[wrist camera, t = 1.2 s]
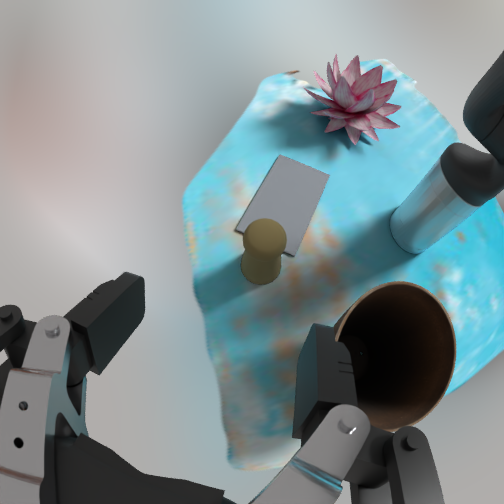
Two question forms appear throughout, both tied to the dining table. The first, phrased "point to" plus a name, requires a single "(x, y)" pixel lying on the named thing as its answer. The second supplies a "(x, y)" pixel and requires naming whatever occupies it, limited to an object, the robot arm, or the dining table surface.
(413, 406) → the plant pot
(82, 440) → the robot arm
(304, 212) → the mat
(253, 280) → the cork
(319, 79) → the decorative flower
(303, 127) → the dining table surface
